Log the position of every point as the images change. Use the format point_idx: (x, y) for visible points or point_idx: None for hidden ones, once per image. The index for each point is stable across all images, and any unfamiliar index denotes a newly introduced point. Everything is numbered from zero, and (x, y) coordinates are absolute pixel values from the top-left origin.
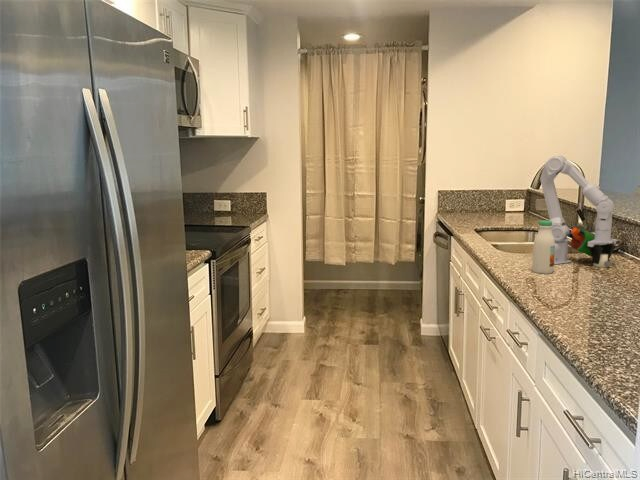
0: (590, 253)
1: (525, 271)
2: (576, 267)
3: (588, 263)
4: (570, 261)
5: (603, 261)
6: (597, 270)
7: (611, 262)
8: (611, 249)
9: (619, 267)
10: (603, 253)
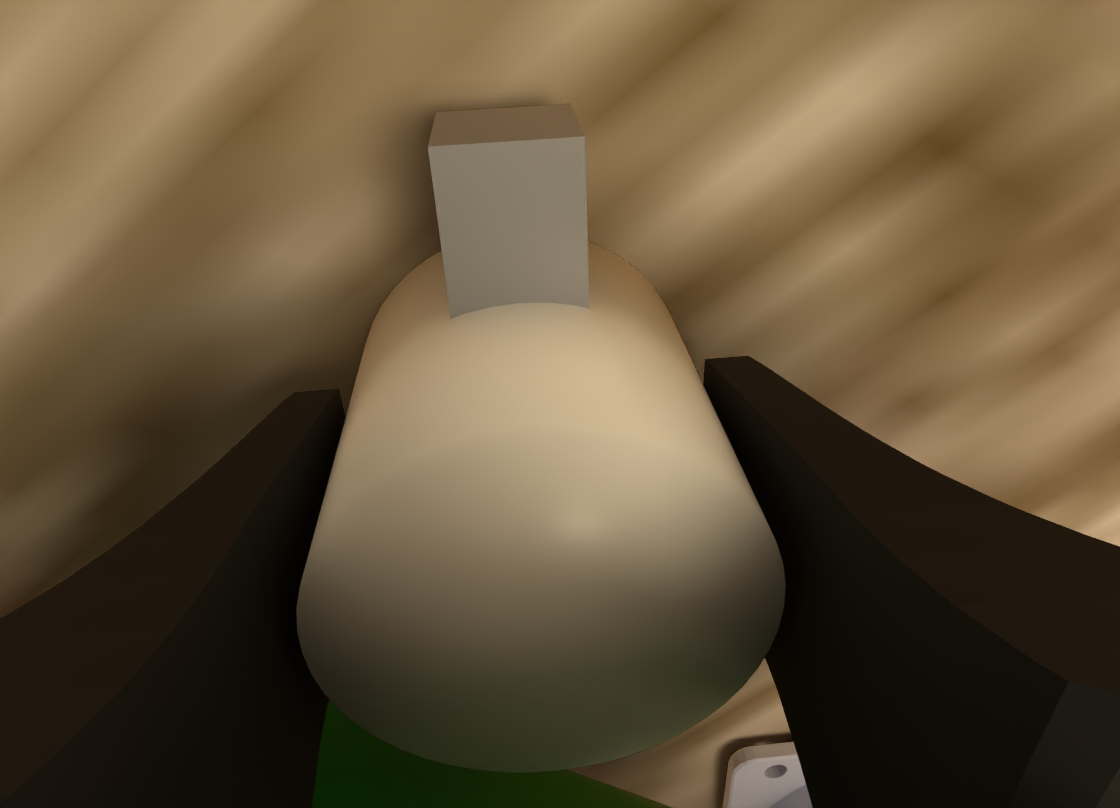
0: (616, 806)
1: None
2: (1083, 473)
3: None
4: (778, 755)
5: (628, 323)
6: (1076, 43)
7: (440, 144)
8: (93, 678)
9: (118, 36)
10: (381, 663)
